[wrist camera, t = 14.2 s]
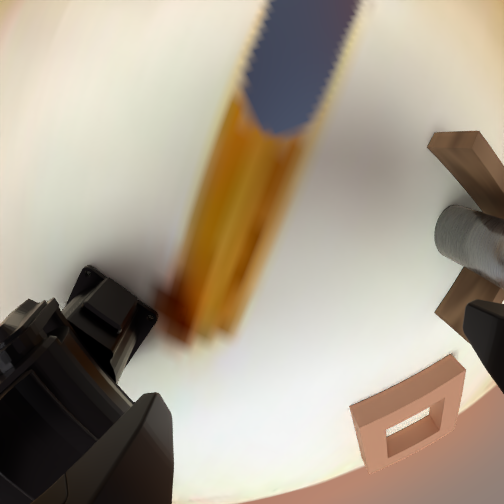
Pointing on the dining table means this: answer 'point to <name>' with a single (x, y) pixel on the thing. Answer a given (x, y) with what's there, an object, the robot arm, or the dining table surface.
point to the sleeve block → (409, 414)
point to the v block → (489, 201)
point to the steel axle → (472, 241)
